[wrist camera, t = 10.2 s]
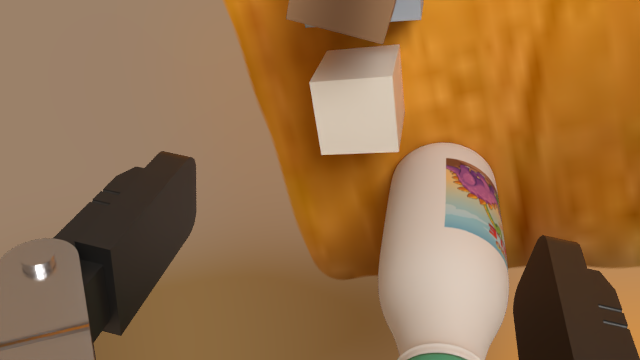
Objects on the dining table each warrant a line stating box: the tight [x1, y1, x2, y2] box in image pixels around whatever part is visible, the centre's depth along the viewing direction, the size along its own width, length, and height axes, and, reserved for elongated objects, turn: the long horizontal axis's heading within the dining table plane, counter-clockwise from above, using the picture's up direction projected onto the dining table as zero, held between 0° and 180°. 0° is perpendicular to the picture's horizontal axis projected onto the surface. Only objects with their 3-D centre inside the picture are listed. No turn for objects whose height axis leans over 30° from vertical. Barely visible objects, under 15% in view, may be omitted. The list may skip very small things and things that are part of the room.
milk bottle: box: [378, 142, 509, 360], centre depth 33 cm, size 8×8×20 cm
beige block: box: [309, 44, 405, 155], centre depth 36 cm, size 5×5×6 cm
